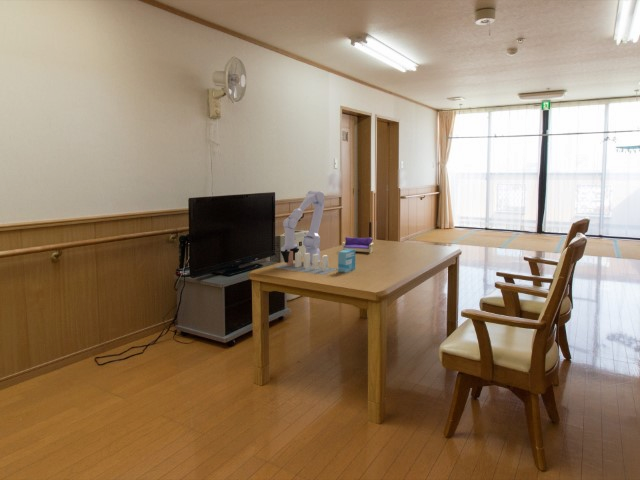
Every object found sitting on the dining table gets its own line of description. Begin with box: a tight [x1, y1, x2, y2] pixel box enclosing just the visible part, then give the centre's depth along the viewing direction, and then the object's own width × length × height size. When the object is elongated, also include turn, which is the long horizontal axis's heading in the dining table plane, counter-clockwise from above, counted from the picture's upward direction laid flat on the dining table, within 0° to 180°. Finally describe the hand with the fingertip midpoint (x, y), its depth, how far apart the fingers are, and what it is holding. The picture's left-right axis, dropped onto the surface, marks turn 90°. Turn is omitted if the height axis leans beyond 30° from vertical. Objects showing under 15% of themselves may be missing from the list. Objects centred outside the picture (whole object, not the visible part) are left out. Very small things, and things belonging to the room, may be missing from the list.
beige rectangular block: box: [294, 251, 303, 267], centre depth 268 cm, size 4×2×8 cm, turn 149°
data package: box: [337, 249, 356, 274], centre depth 258 cm, size 12×4×12 cm, turn 147°
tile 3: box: [303, 252, 311, 269], centre depth 265 cm, size 4×2×8 cm, turn 149°
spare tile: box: [286, 250, 294, 266], centre depth 272 cm, size 4×2×8 cm, turn 148°
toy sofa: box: [341, 236, 374, 255], centre depth 319 cm, size 21×9×10 cm, turn 72°
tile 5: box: [320, 254, 329, 271], centre depth 259 cm, size 4×2×8 cm, turn 149°
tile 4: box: [312, 254, 320, 270], centre depth 262 cm, size 4×2×8 cm, turn 149°
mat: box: [272, 262, 338, 276], centre depth 265 cm, size 17×34×1 cm, turn 59°
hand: (289, 261), depth 272 cm, fingers open, 7 cm apart
